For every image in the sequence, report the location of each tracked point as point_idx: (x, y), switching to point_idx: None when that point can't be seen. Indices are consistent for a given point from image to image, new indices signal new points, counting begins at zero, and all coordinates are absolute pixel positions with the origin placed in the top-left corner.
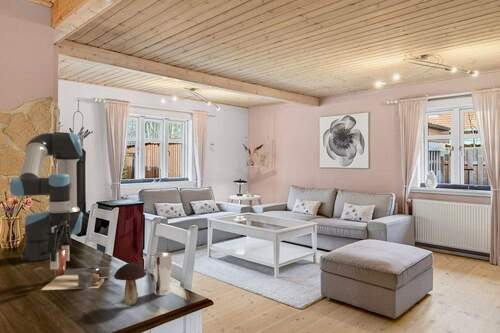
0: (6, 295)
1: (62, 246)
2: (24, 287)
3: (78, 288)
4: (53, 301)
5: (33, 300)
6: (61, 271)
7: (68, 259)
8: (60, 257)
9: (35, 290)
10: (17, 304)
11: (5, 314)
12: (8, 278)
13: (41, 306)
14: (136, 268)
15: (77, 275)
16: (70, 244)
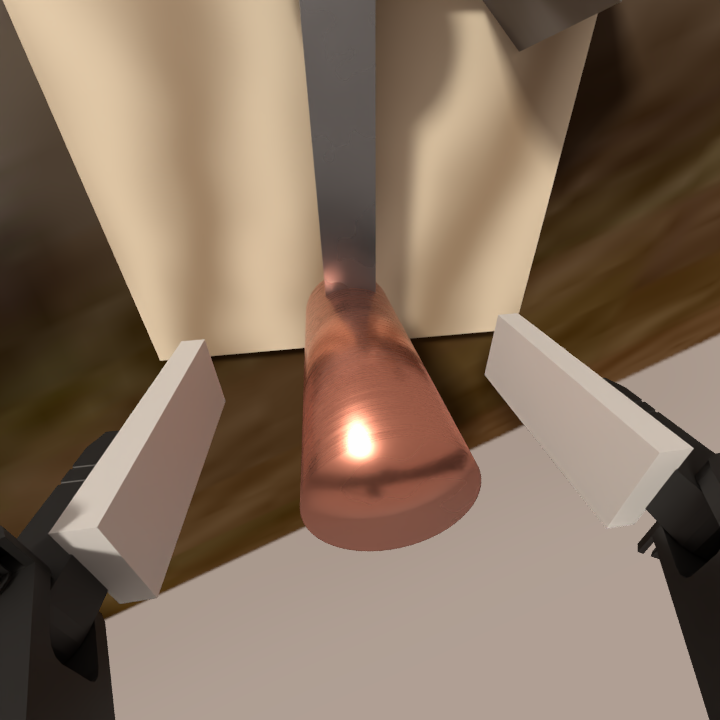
0: (471, 445)
1: (156, 581)
2: None
3: (594, 15)
4: (664, 179)
5: (586, 308)
6: (390, 303)
7: (200, 349)
8: (439, 395)
9: (436, 369)
10: (604, 353)
11: (700, 341)
12: (262, 536)
13: (704, 220)
14: None
15: (222, 198)
16: (4, 541)
